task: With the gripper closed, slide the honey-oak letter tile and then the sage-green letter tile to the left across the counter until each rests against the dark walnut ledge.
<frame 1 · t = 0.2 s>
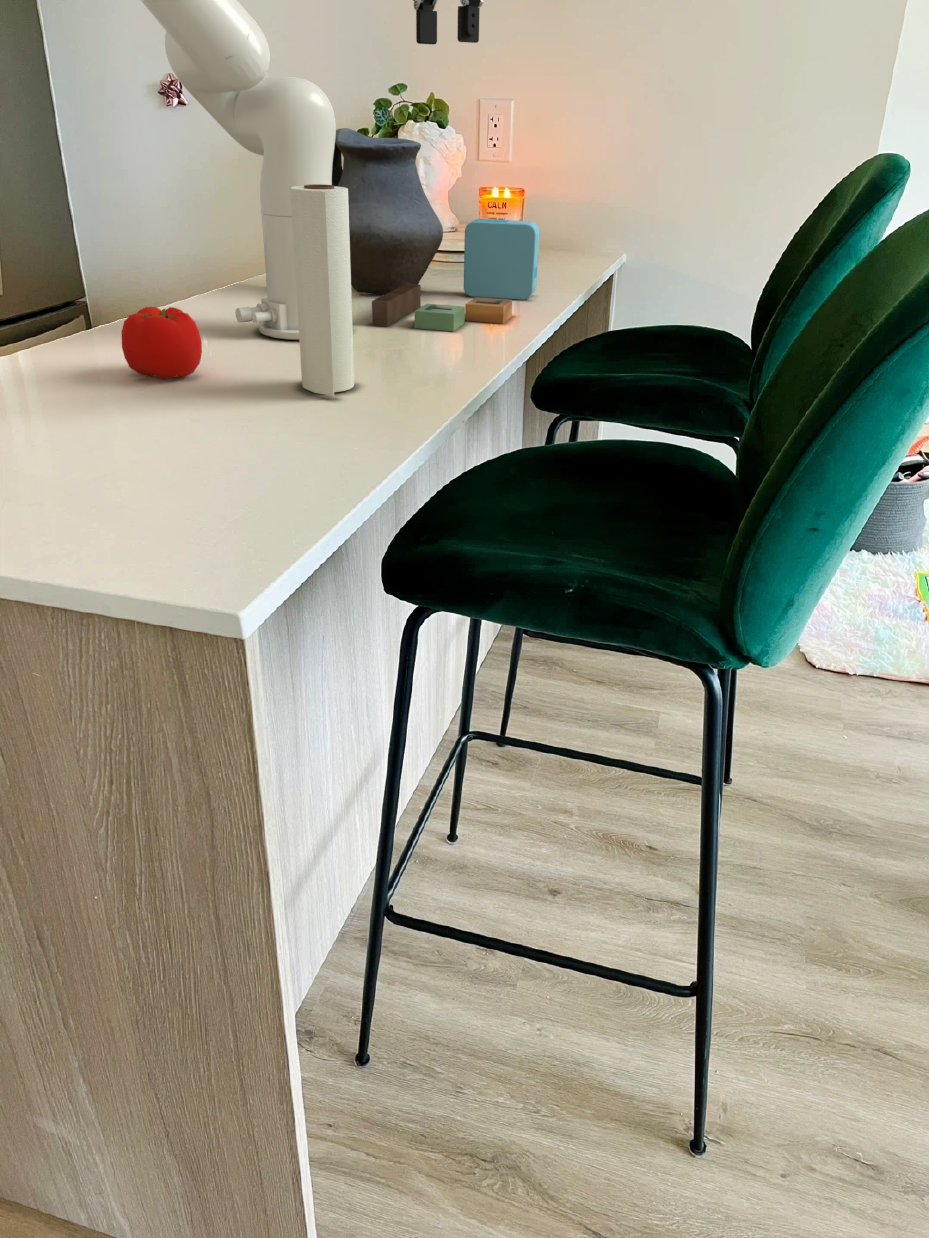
hand: (446, 43, 130), 36 cm above the worktop, tool pointing down, fingers open, 9 cm apart
paper towel roll: (326, 390, 109), on the worktop
blue rounded slab: (499, 297, 163), on the worktop
pitcher: (379, 291, 166), on the worktop
tomato: (168, 376, 113), on the worktop
walnut ledge: (397, 316, 146), on the worktop
sage letter tile: (439, 326, 141), on the worktop
oak letter tile: (488, 318, 146), on the worktop
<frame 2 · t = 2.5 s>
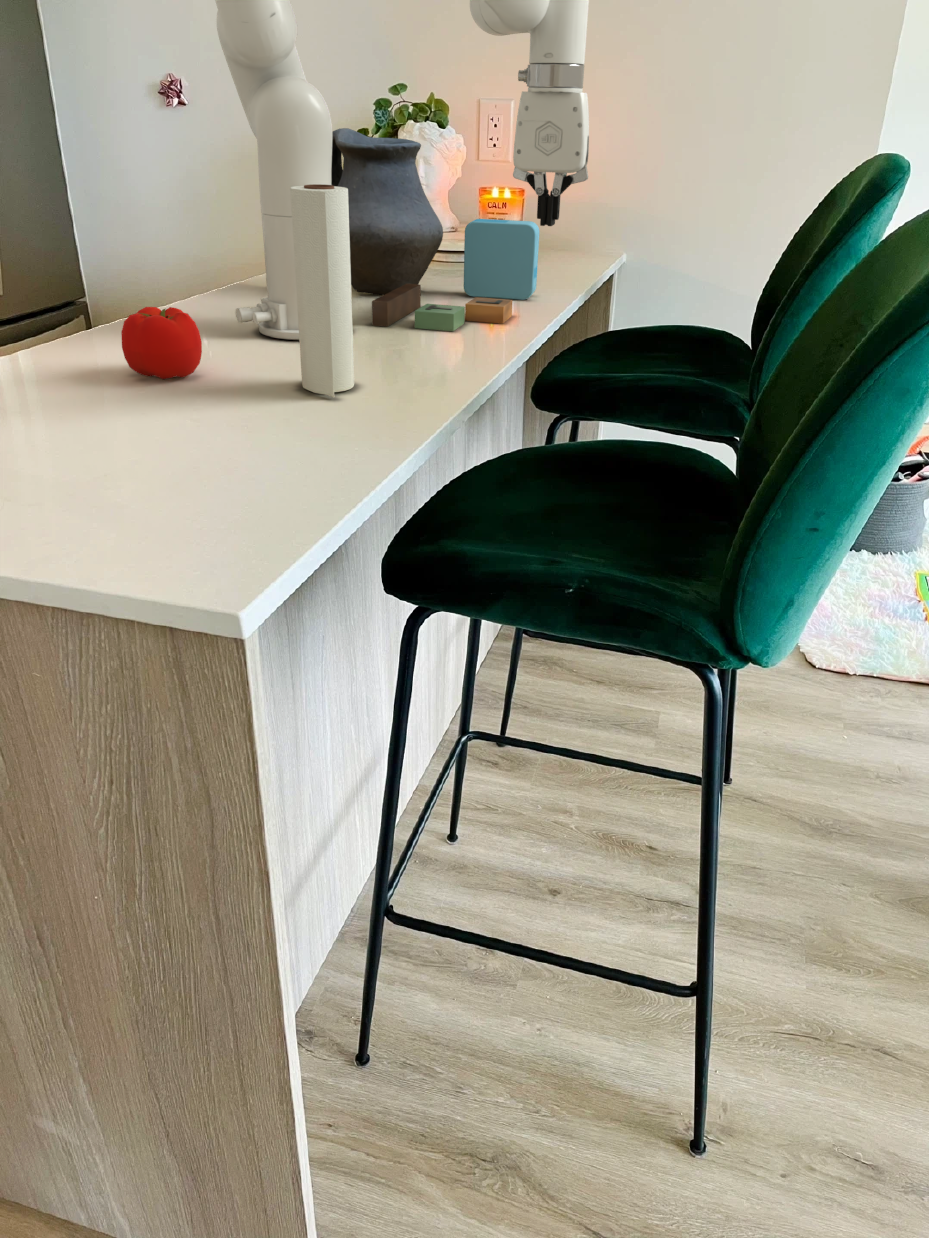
hand: (547, 224, 138), 14 cm above the worktop, tool pointing down, fingers closed
nothing on the worktop moved.
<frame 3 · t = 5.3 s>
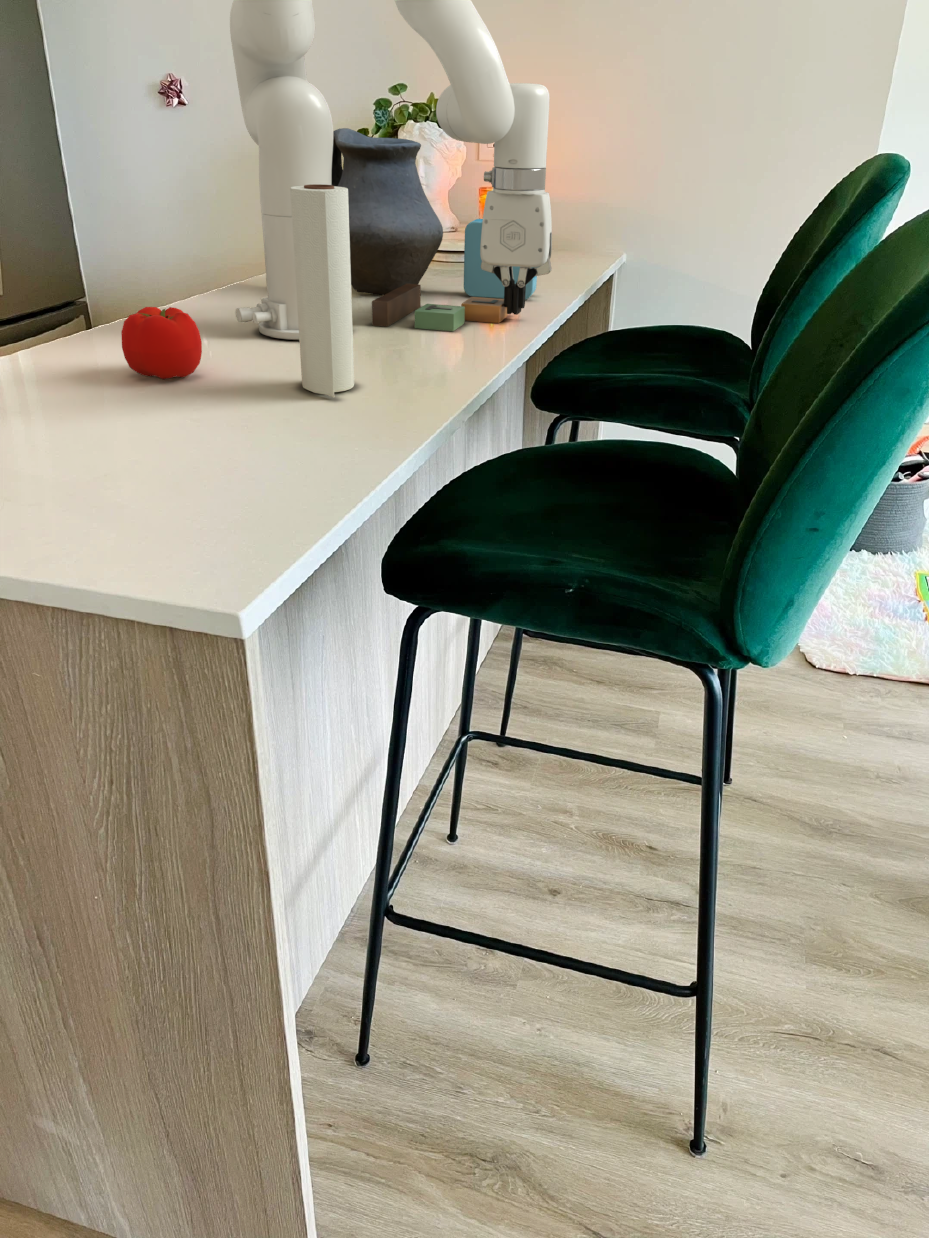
hand: (514, 312, 145), 1 cm above the worktop, tool pointing down, fingers closed
oak letter tile: (484, 318, 147), on the worktop, touching gripper
everything else where it was.
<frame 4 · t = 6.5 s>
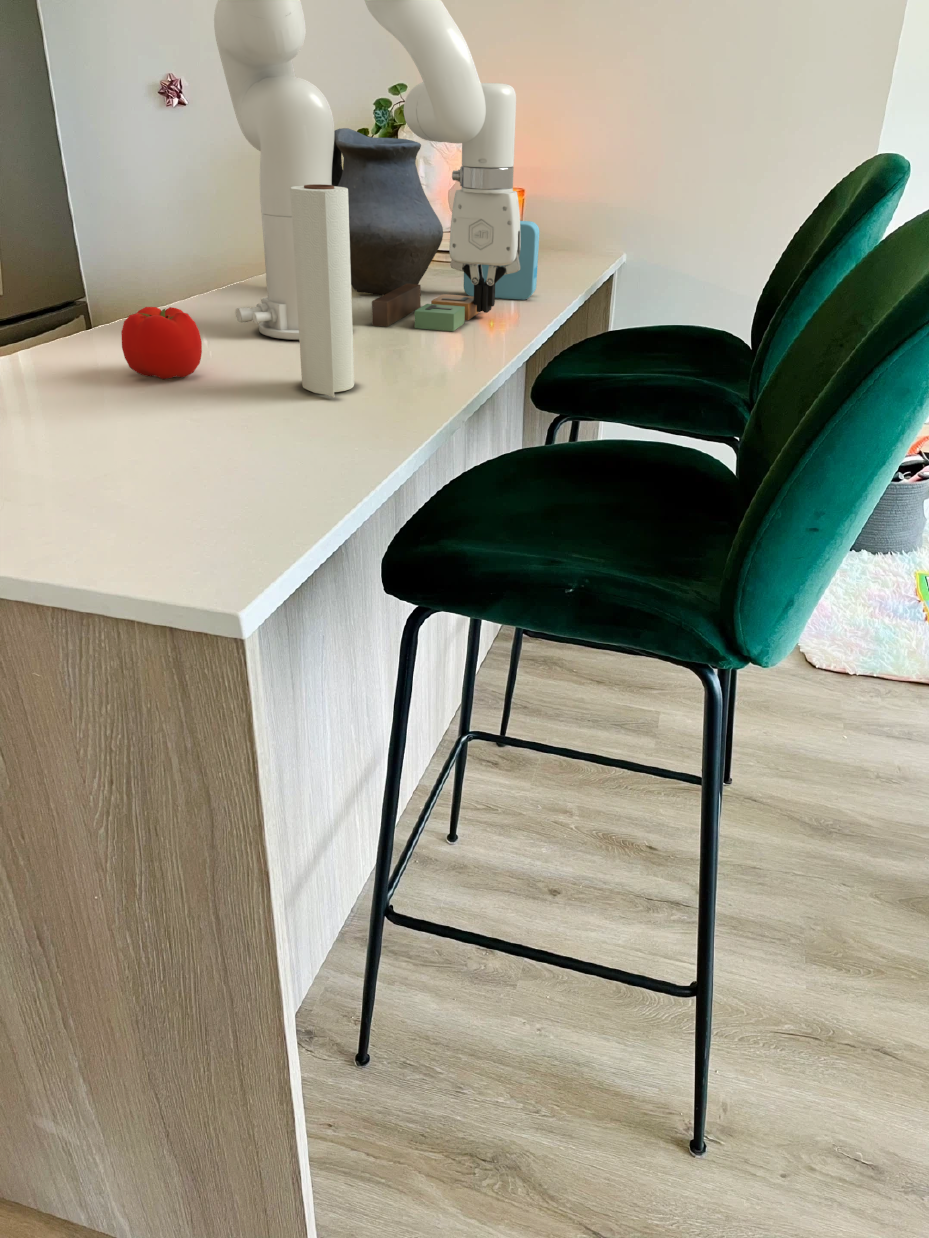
hand: (484, 310, 146), 1 cm above the worktop, tool pointing down, fingers closed
oak letter tile: (455, 315, 148), on the worktop, touching gripper
everything else where it was.
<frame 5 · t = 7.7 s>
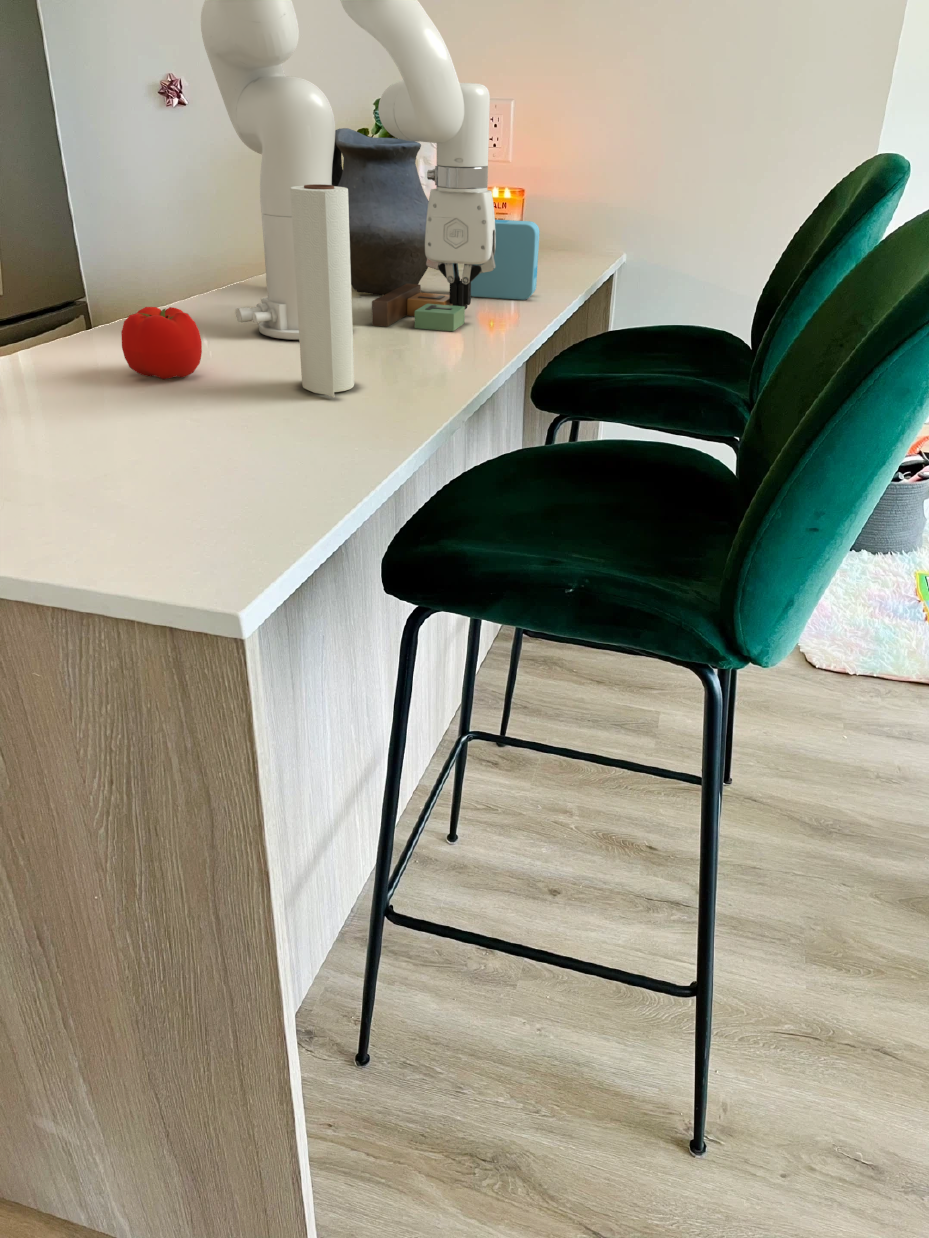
hand: (459, 309, 147), 1 cm above the worktop, tool pointing down, fingers closed
oak letter tile: (431, 313, 149), on the worktop, touching gripper
everything else where it was.
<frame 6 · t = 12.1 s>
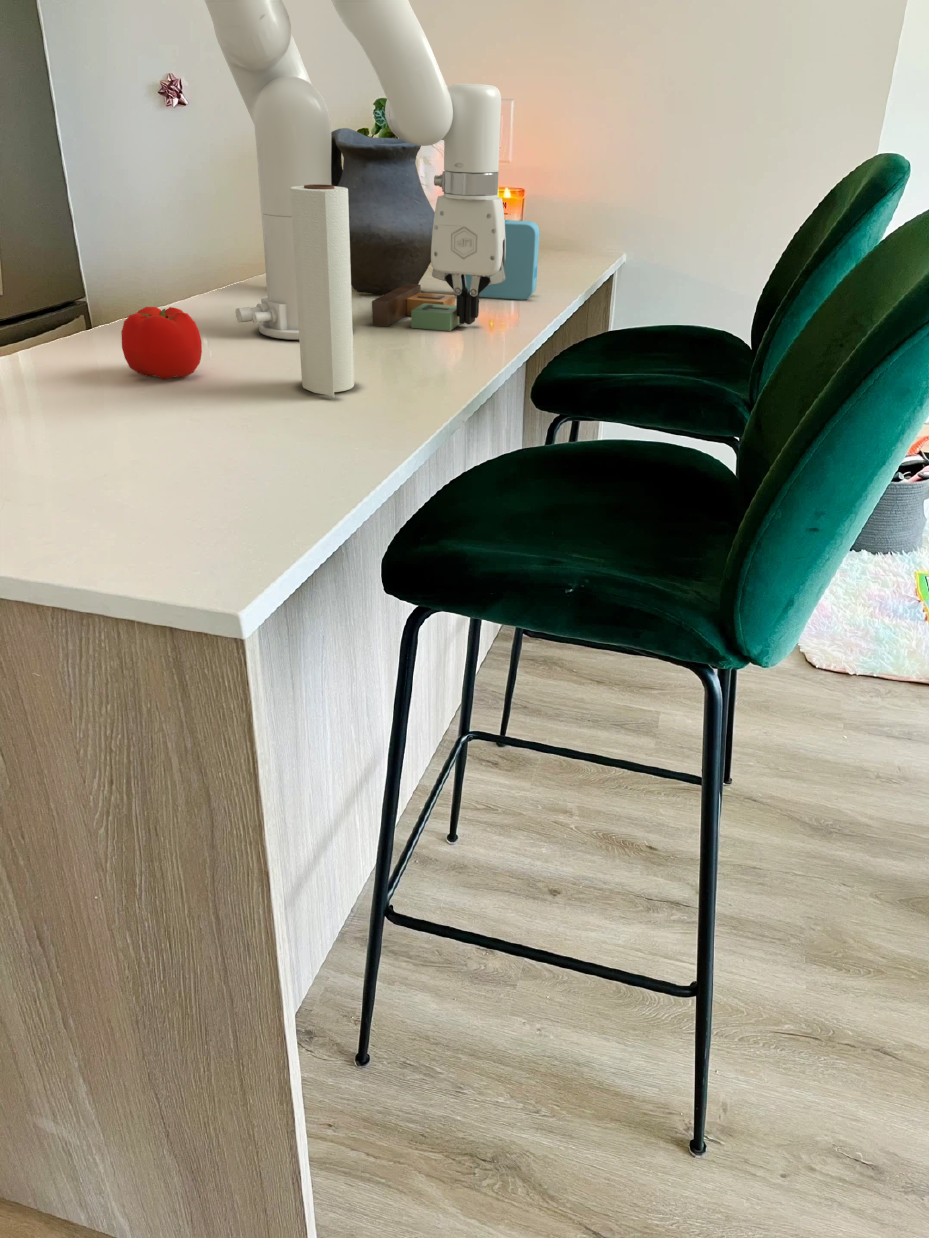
hand: (467, 322, 139), 1 cm above the worktop, tool pointing down, fingers closed
sage letter tile: (436, 325, 141), on the worktop, touching gripper
oak letter tile: (430, 313, 149), on the worktop
everything else where it was.
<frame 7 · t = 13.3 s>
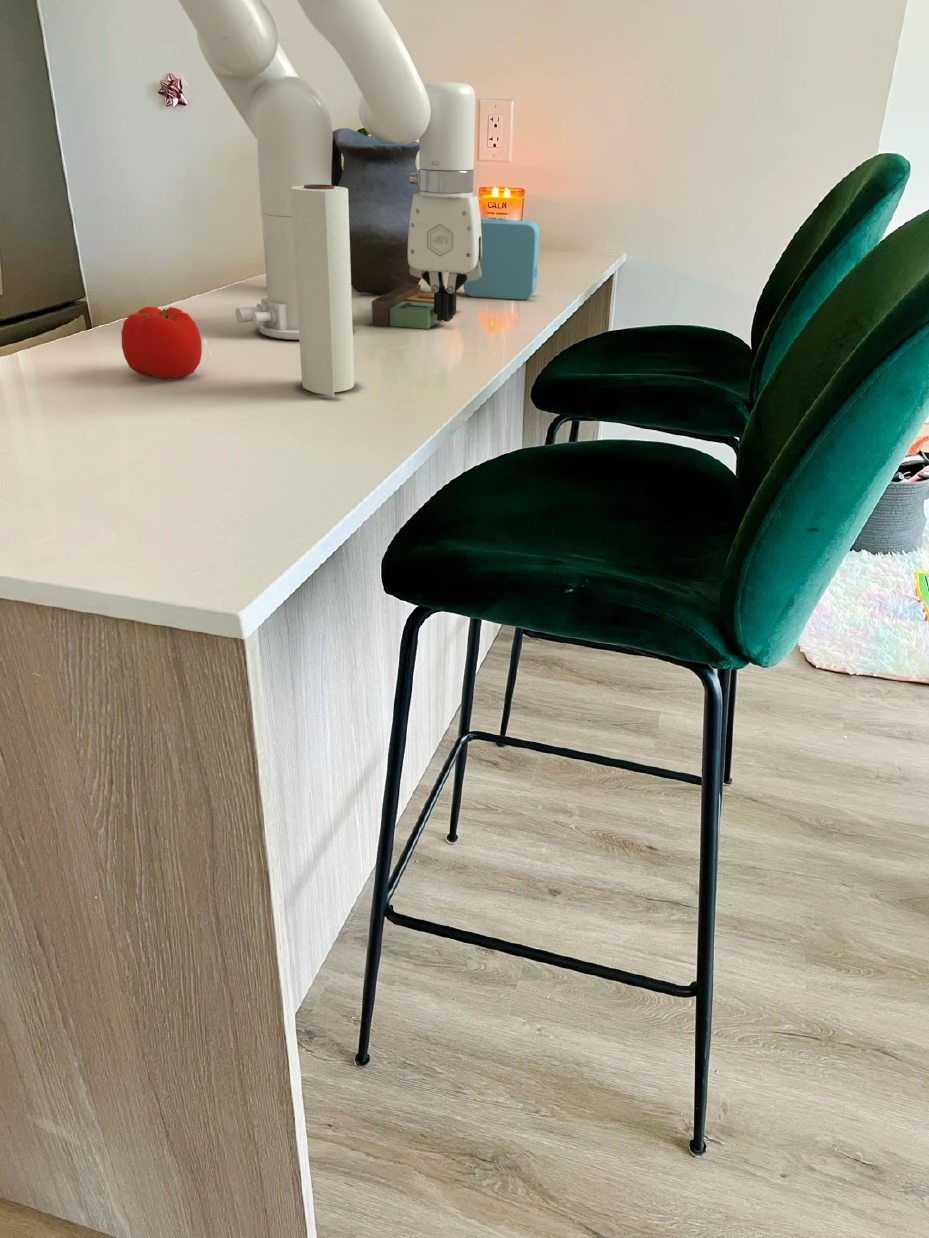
hand: (445, 319, 140), 1 cm above the worktop, tool pointing down, fingers closed
sage letter tile: (414, 323, 142), on the worktop, touching gripper
everything else where it was.
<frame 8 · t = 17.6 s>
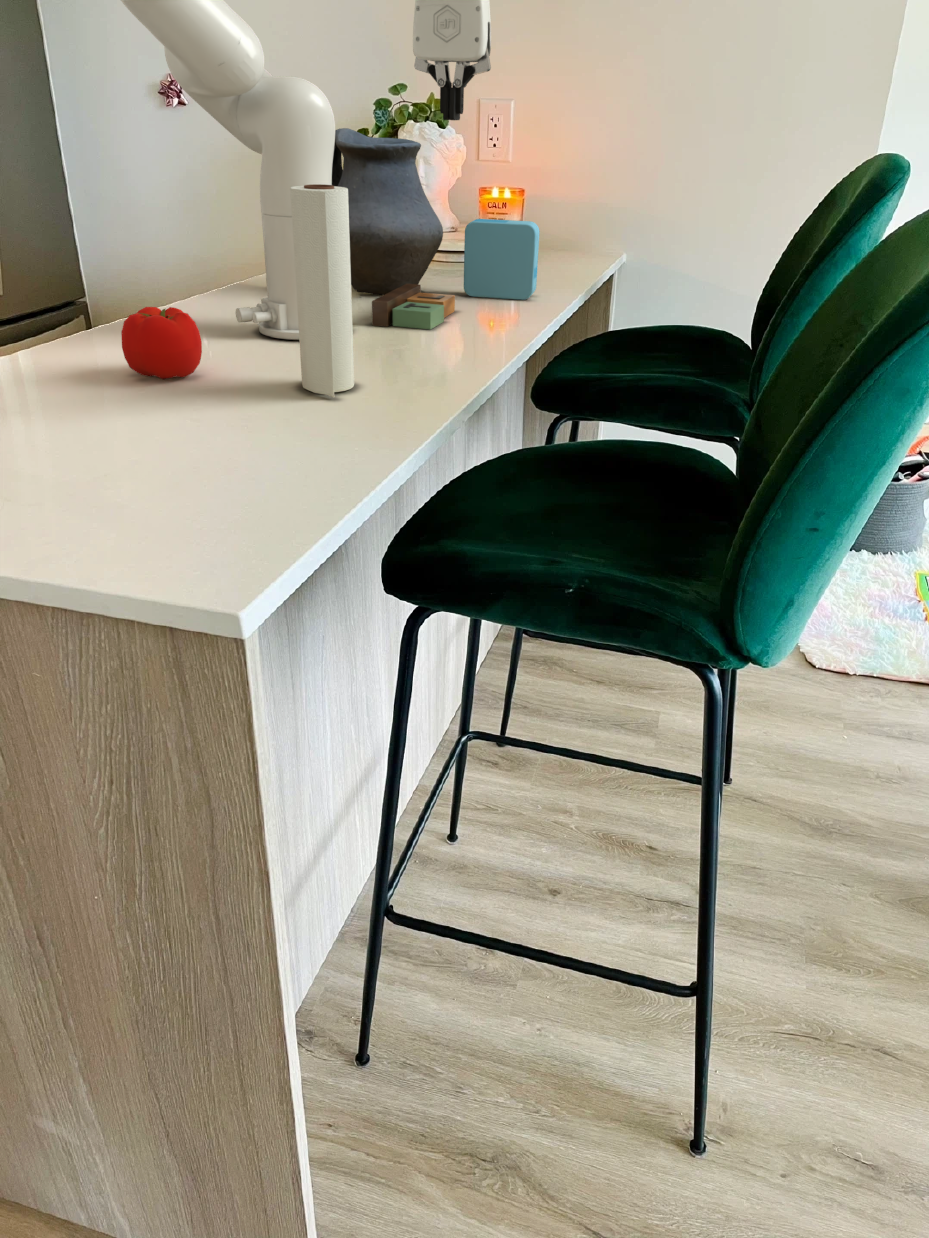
hand: (451, 119, 133), 27 cm above the worktop, tool pointing down, fingers closed
sage letter tile: (418, 324, 142), on the worktop
everything else where it was.
at the end: oak letter tile 5.7 cm from the walnut ledge (horizontally); sage letter tile 6.6 cm from the walnut ledge (horizontally); oak letter tile tilted 0° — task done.
